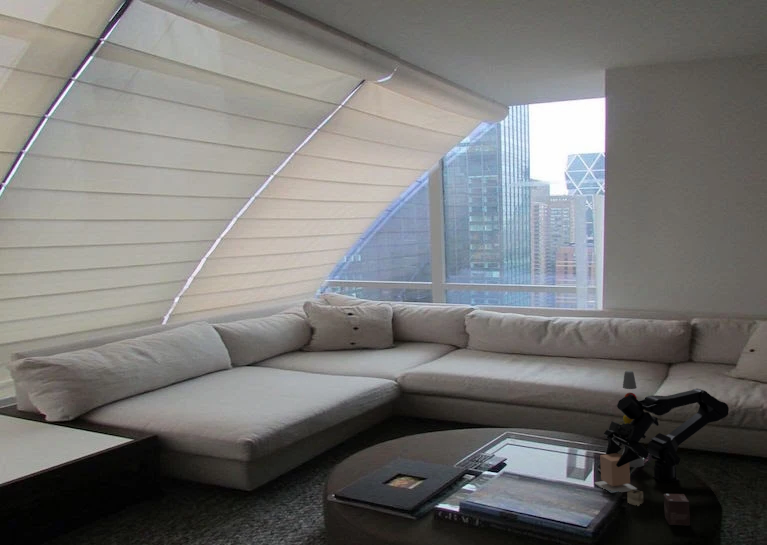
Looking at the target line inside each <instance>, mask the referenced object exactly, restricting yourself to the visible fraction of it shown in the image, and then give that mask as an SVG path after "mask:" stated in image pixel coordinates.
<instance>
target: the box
mask: <svg viewBox="0 0 767 545" xmlns="http://www.w3.org/2000/svg"><path fill="white" fill-rule="evenodd" d="M663 505H664V507H663V508H664V518H665V521H666V522H667V524H668V525H669V526H690V525H691V524H690V523H691V521H690V520H691V518H690V517H691V516H690V514H691V512H690V500H689V499H688V498H687V496H686V495H685V494H684V493H664V494H663Z"/></svg>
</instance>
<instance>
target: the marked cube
mask: <svg viewBox="0 0 767 545" xmlns="http://www.w3.org/2000/svg"><path fill="white" fill-rule="evenodd" d="M626 495H627V504H628V503H629V504H628V505H632V506H636V505H637V507H639V506H641V505H642V504H643V503H644V491H642V490H641V491H640V490H638V489H637V490H633V489H632V490H630V491H627V493H626ZM640 504H641V505H640Z"/></svg>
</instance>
